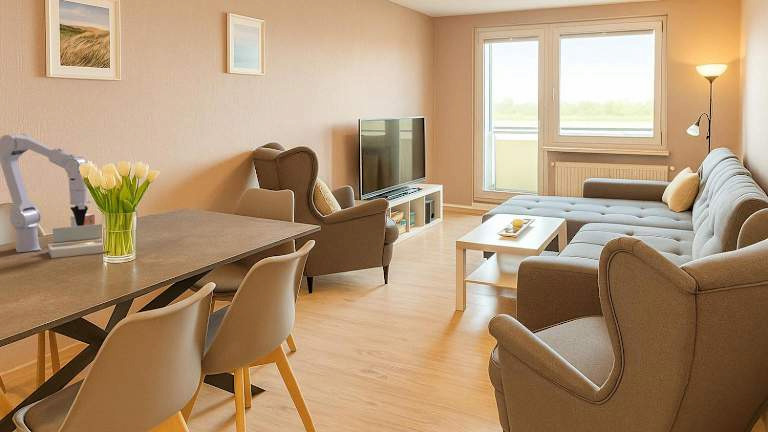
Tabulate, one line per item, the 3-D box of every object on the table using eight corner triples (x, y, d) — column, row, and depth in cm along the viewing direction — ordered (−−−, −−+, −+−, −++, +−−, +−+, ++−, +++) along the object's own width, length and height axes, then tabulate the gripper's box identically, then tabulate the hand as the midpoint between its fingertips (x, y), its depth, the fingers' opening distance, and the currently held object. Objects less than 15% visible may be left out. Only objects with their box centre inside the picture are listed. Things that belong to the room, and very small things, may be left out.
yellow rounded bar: (68, 242, 240) (68, 248, 242) (69, 248, 239) (69, 253, 240) (93, 240, 245) (93, 245, 247) (95, 245, 243) (95, 251, 245)
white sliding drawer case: (51, 258, 232) (51, 250, 232) (48, 252, 241) (47, 244, 241) (110, 251, 243) (109, 244, 242) (104, 246, 252) (104, 238, 252)
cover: (51, 228, 239) (51, 228, 240) (53, 243, 240) (52, 243, 241) (99, 224, 248) (98, 224, 249) (100, 239, 249) (99, 238, 250)
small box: (84, 242, 259) (82, 216, 257) (71, 241, 260) (69, 216, 258) (96, 238, 267) (94, 213, 265) (84, 237, 268) (82, 213, 266)
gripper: (92, 191, 234) (95, 227, 236) (86, 187, 246) (88, 221, 248) (71, 192, 230) (74, 229, 232) (66, 188, 242) (68, 223, 244)
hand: (80, 225), depth 240 cm, fingers closed
